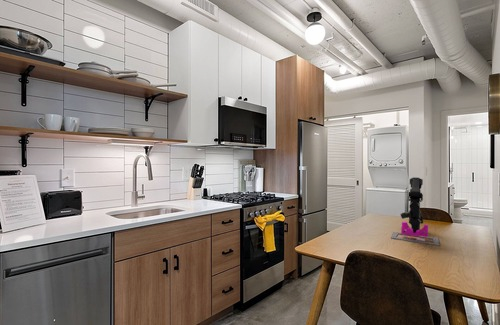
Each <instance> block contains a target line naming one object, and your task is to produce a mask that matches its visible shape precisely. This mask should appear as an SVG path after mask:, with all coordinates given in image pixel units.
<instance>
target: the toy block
mask: <svg viewBox="0 0 500 325" xmlns="http://www.w3.org/2000/svg"><path fill="white" fill-rule="evenodd" d="M400 230H401V232H400V233H401V234H406V235H405V236H407V235H413V236H412V237H414V236H424V237H429V224H424V225H423V227H422V228H420V230H417V231H416V233H413V229H411V226H409V224H408V222H407V221H402V222H401V228H400Z"/></svg>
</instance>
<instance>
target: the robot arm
mask: <svg viewBox="0 0 500 325" xmlns="http://www.w3.org/2000/svg"><path fill="white" fill-rule="evenodd" d="M423 181H424V180H423V178H420V177H416V176H415V177H411V178H409V186H410V189H409V191H408V198H407V201H408V202H409V211H405V212H401V213H400V217H401V219H406V218H407V219H408V223H409V224H410V228H411V229H413V233H416V231H417V230H420V229H421V225H422V224H424V217H423V215H422V212H421V203H422V202H423V200H424V194H423V192H421V189H422V186H423V184H424V183H423Z"/></svg>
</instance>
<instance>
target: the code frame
mask: <svg viewBox="0 0 500 325" xmlns="http://www.w3.org/2000/svg"><path fill="white" fill-rule="evenodd" d="M398 235H401V236H402V235H403V236H404V237H398ZM414 237H415V239H414ZM390 239H391V240H397V241H398V240H399V241H404V242H405V241H406V242H412V243H417V244H418V243H419V244H424V245H430V246H438V247H440V241H439V240H440V239H439V238H438V237H431V236H428V237H424V236H413V235H406V234H401V232H397V231H392V234H391V236H390ZM426 239H428V240H432V242H430V241H426Z"/></svg>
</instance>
